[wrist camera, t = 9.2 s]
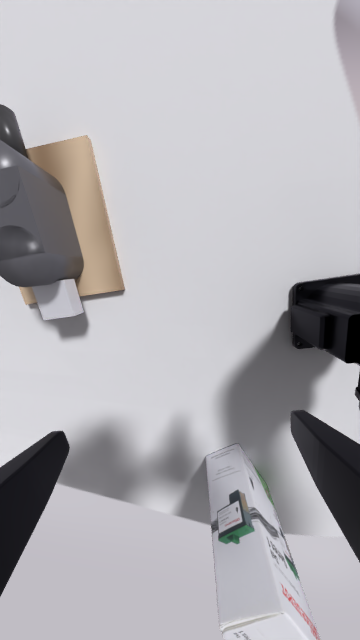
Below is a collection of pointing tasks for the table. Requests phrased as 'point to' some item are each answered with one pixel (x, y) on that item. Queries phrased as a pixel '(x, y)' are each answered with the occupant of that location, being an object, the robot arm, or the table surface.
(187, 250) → the table surface
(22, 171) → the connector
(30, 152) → the light brown wooden board
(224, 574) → the ink box
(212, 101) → the table surface
